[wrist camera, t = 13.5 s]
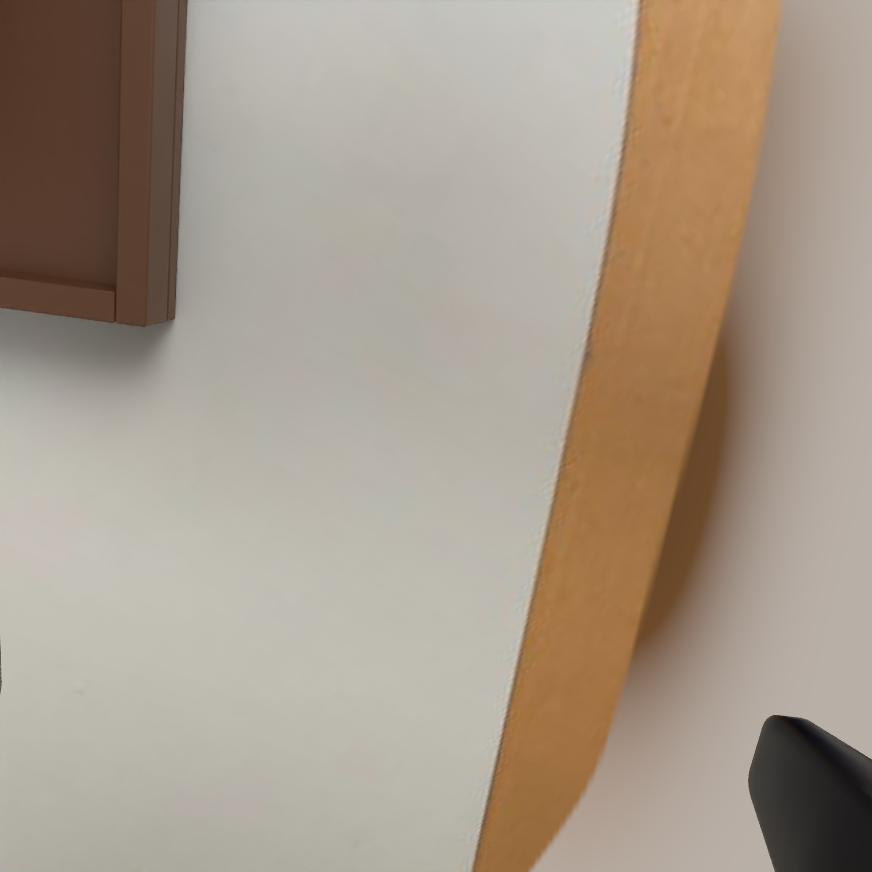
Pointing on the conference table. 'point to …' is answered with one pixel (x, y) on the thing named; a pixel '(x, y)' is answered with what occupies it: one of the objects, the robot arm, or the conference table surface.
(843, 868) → the robot arm
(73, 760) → the conference table surface
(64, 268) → the serving tray
